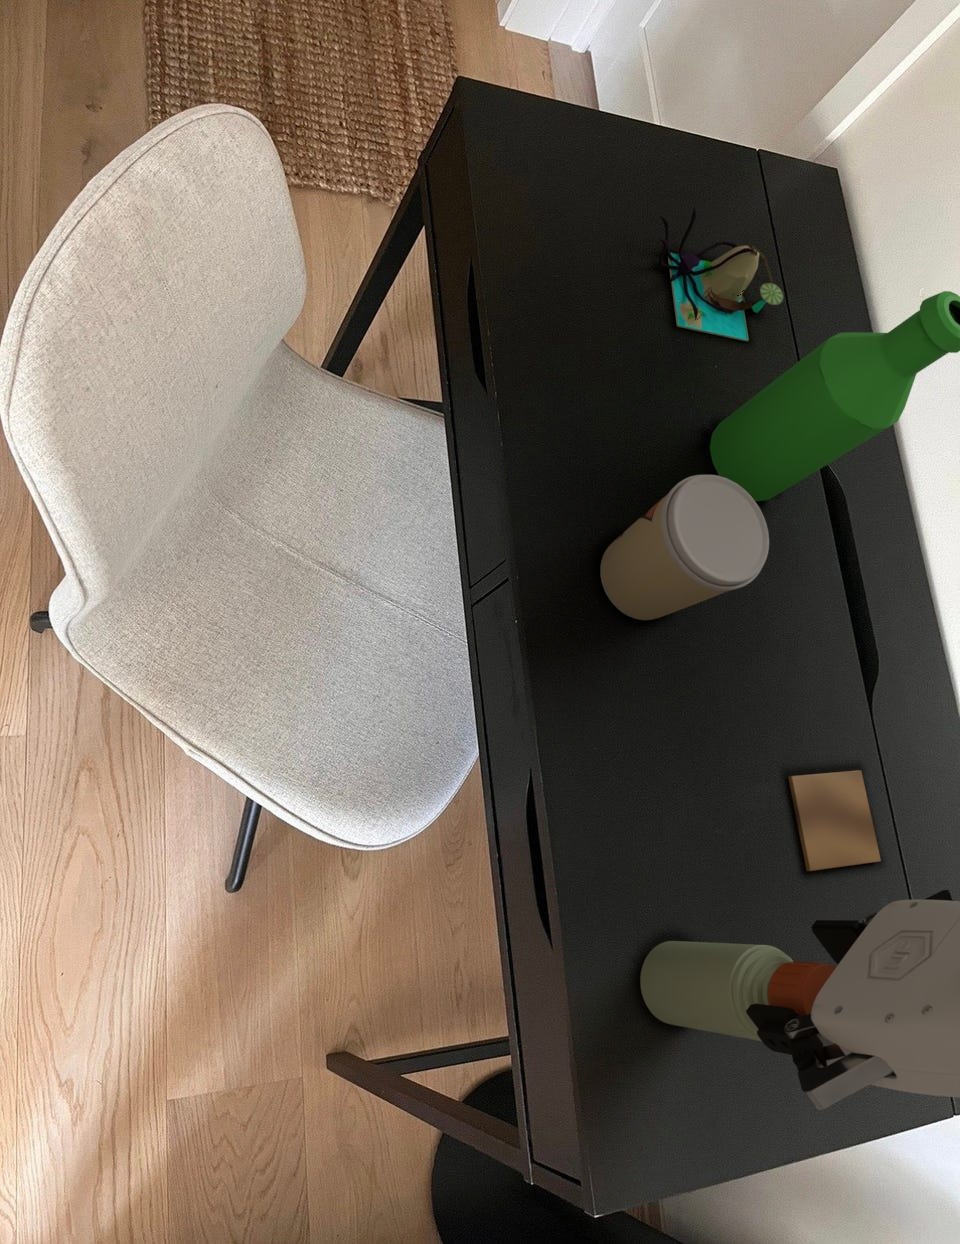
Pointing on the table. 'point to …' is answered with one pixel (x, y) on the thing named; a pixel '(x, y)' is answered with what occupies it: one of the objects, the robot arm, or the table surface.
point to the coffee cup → (686, 549)
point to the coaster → (834, 820)
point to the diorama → (715, 287)
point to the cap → (798, 985)
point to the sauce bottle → (709, 984)
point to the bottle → (831, 400)
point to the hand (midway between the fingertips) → (796, 983)
